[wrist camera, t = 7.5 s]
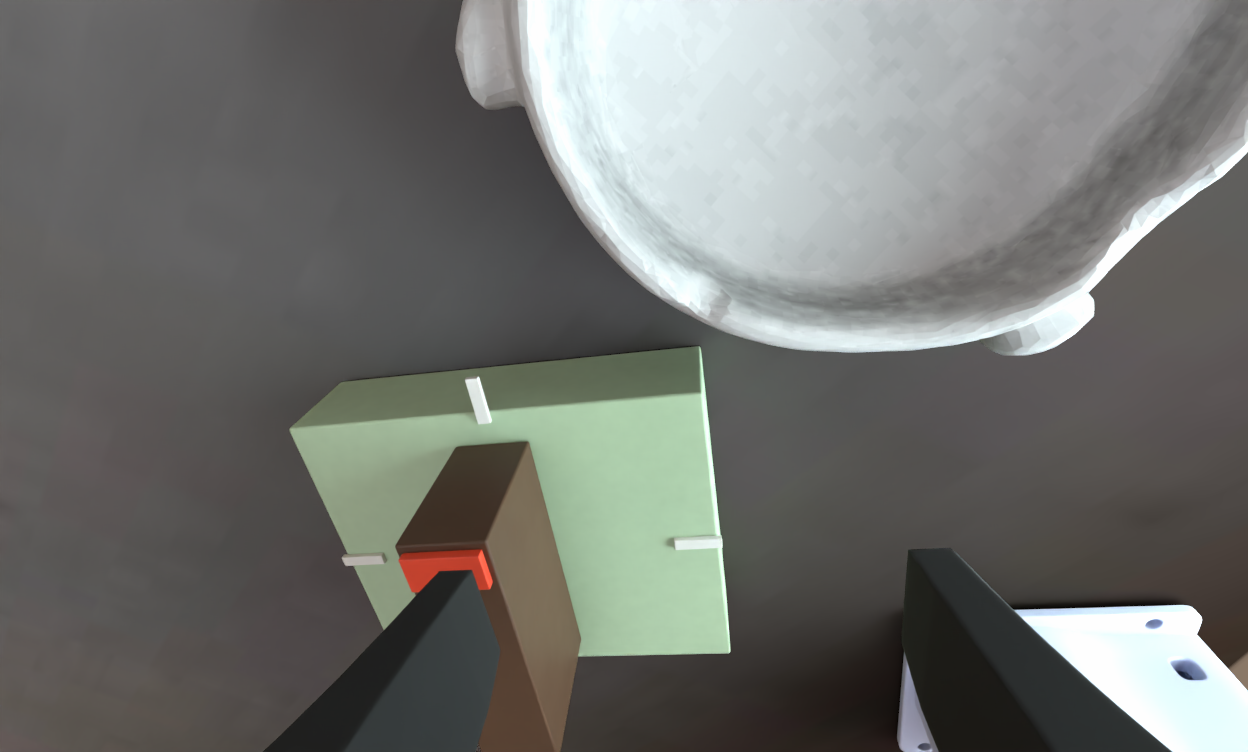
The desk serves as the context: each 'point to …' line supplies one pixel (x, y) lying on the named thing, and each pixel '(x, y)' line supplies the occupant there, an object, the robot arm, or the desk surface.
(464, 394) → the stand
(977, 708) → the robot arm
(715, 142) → the dish
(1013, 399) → the desk surface
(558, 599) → the brown block
